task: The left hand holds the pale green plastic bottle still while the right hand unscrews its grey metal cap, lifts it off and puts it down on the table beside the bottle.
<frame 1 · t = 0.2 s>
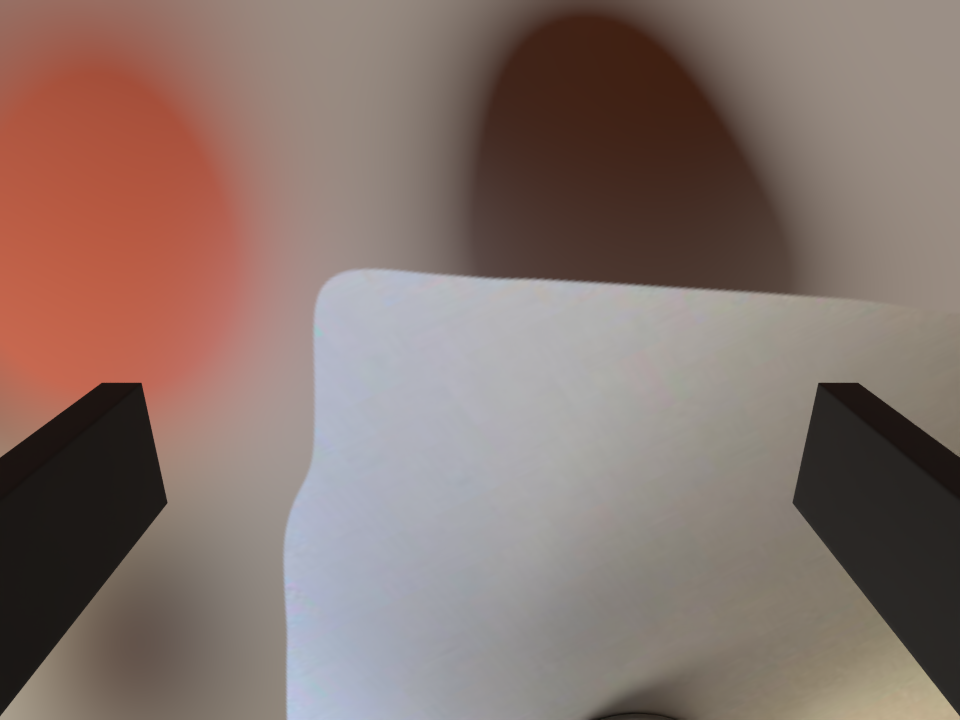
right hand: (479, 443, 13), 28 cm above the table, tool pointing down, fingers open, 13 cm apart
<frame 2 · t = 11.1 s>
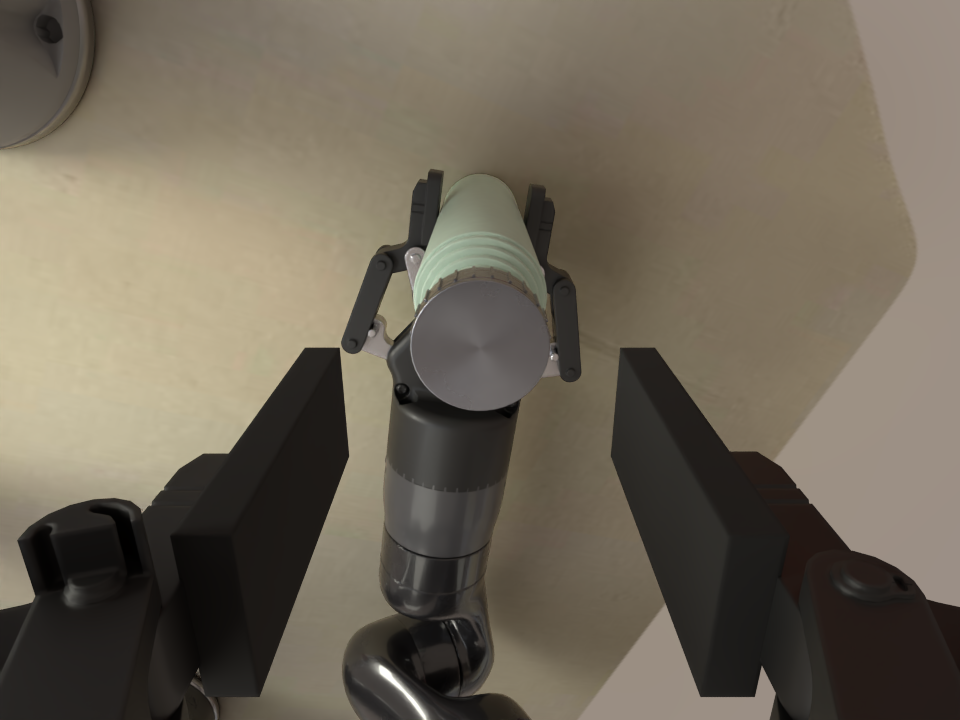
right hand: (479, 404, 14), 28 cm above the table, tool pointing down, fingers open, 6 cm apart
left hand: (486, 180, 33), fingers closed on bottle, 4 cm apart
bottle: (479, 212, 40), on the table, touching left hand
cap: (480, 344, 18), point 24 cm above the table, screwed on, not yet turned
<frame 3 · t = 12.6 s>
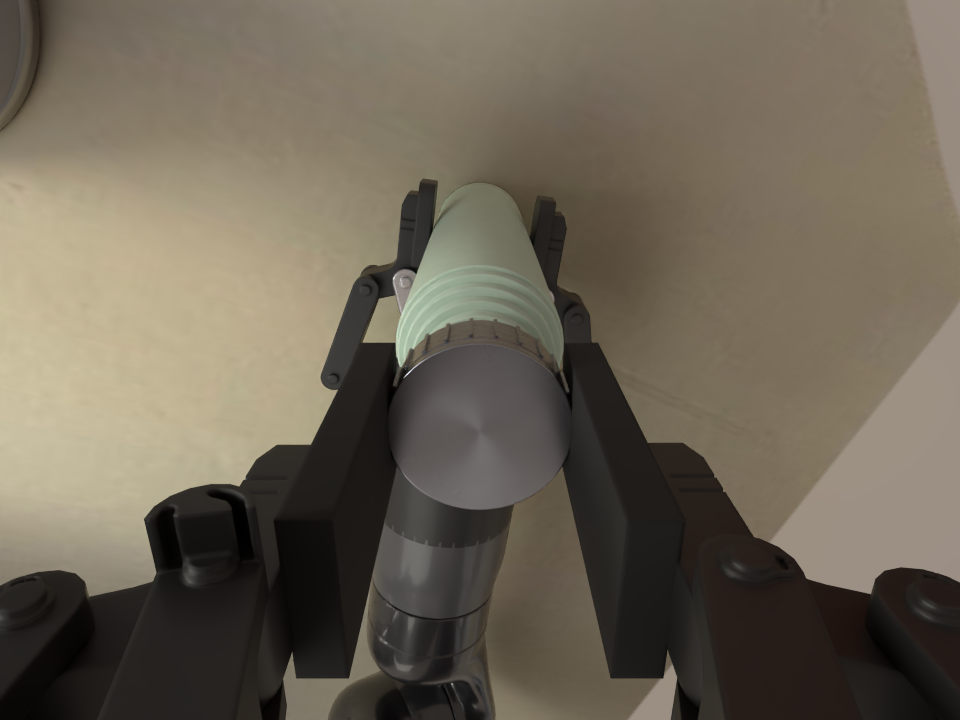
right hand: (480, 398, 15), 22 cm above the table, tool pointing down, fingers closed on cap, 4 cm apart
left hand: (487, 191, 29), fingers closed on bottle, 4 cm apart
bottle: (479, 225, 35), on the table, touching left hand
cap: (479, 424, 13), point 24 cm above the table, screwed on, not yet turned, touching right hand
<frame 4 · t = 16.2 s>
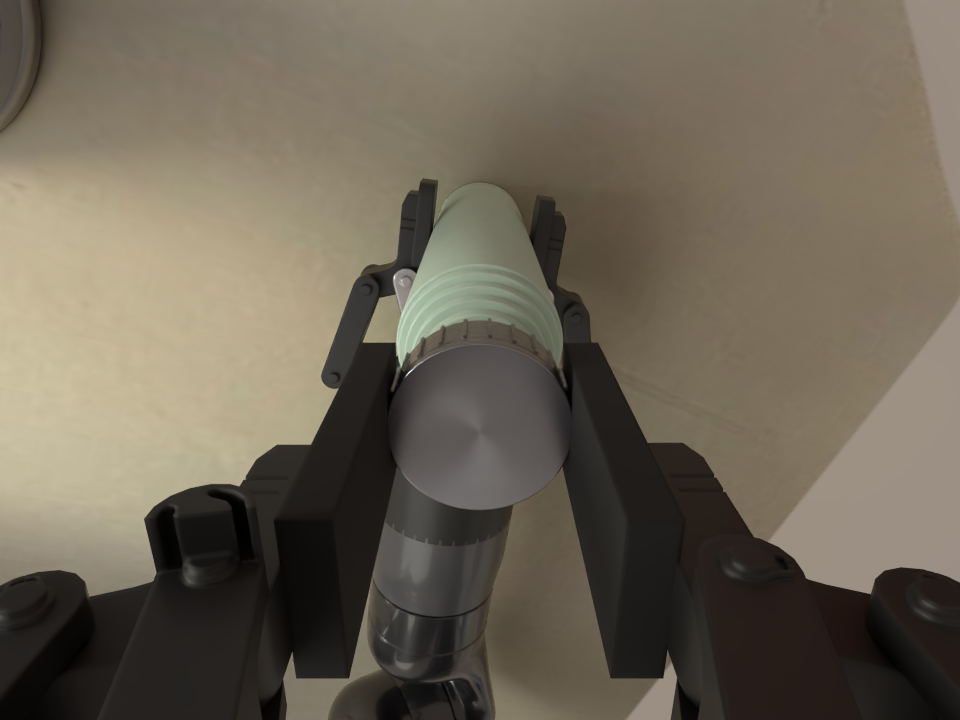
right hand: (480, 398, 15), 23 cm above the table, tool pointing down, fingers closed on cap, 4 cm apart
left hand: (487, 191, 29), fingers closed on bottle, 4 cm apart
bottle: (479, 225, 36), on the table, touching left hand
cap: (479, 425, 13), point 24 cm above the table, turned 124° so far, risen 0.1 cm, still on its thread, touching right hand
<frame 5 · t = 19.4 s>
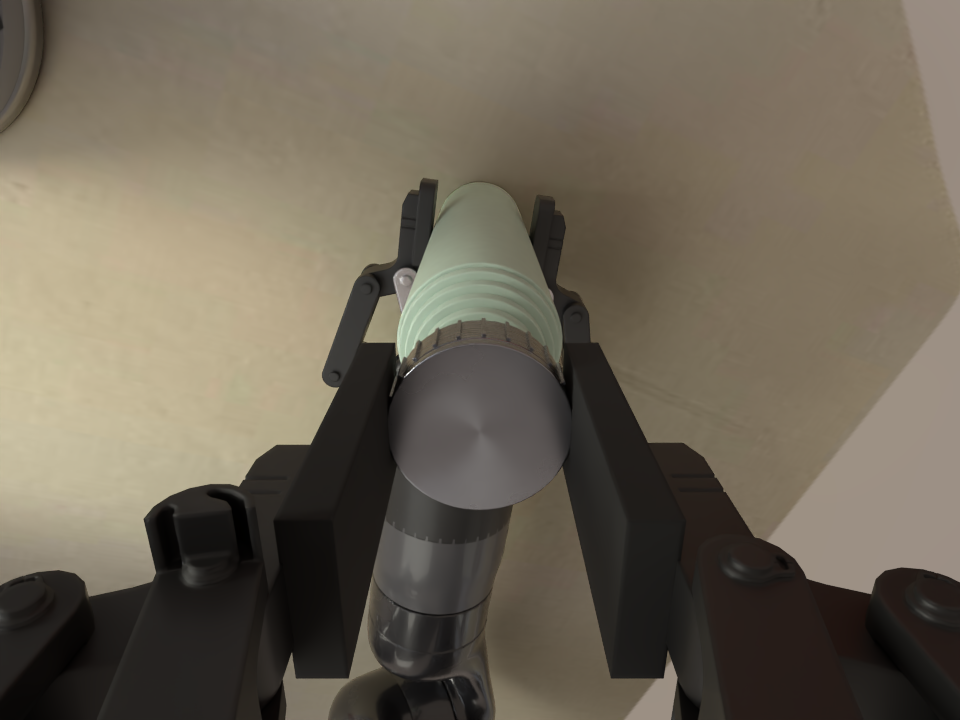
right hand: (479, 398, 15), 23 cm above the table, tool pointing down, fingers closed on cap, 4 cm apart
left hand: (487, 191, 29), fingers closed on bottle, 4 cm apart
bottle: (479, 224, 36), on the table, touching left hand
cap: (479, 424, 13), point 24 cm above the table, turned 247° so far, risen 0.3 cm, still on its thread, touching right hand
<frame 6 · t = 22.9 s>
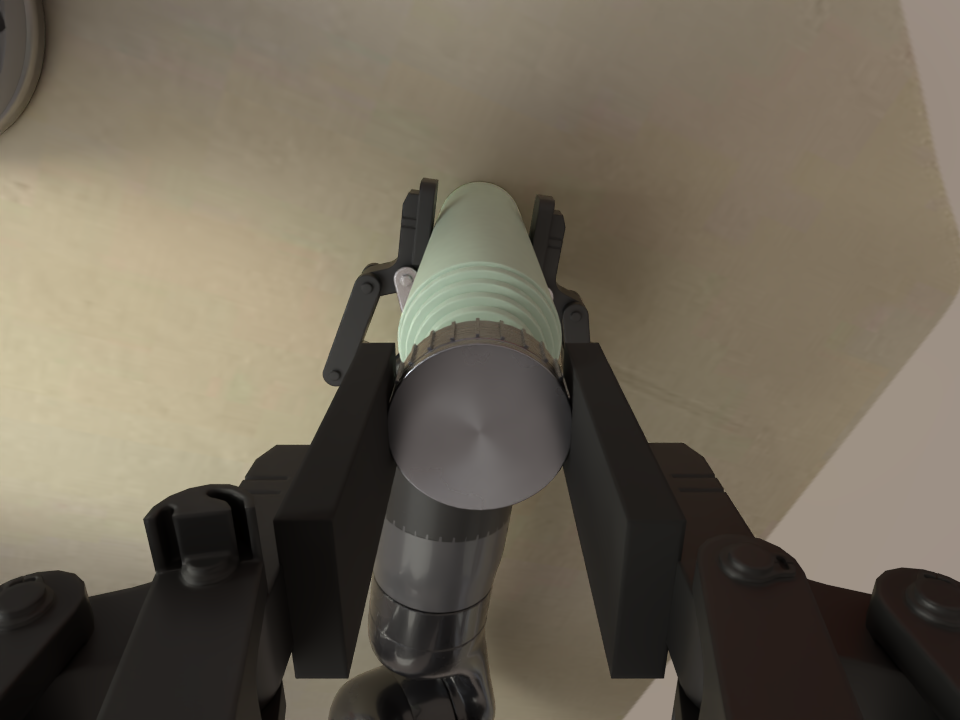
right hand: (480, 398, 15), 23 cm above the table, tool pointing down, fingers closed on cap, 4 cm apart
left hand: (487, 190, 29), fingers closed on bottle, 4 cm apart
bottle: (479, 224, 36), on the table, touching left hand
cap: (479, 425, 13), point 24 cm above the table, turned 371° so far, risen 0.4 cm, still on its thread, touching right hand
when the right hand's fingers open (2 cm above the table, at t = 30.8 s): cap drops 2 cm, point 1 cm above the table.
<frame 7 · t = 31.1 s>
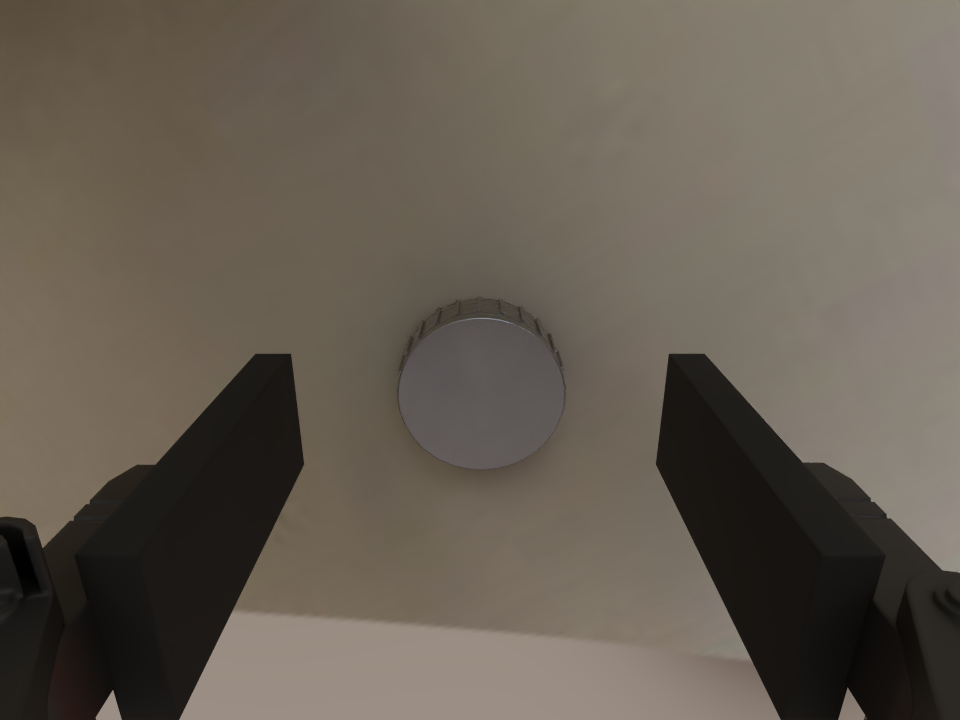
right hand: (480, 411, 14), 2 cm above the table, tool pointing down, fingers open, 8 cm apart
cap: (481, 392, 15), point 1 cm above the table, off its thread
when the left hand's fingers open (6 cm above the table, at t = 32.1 s): bottle stays where it is, on the table.
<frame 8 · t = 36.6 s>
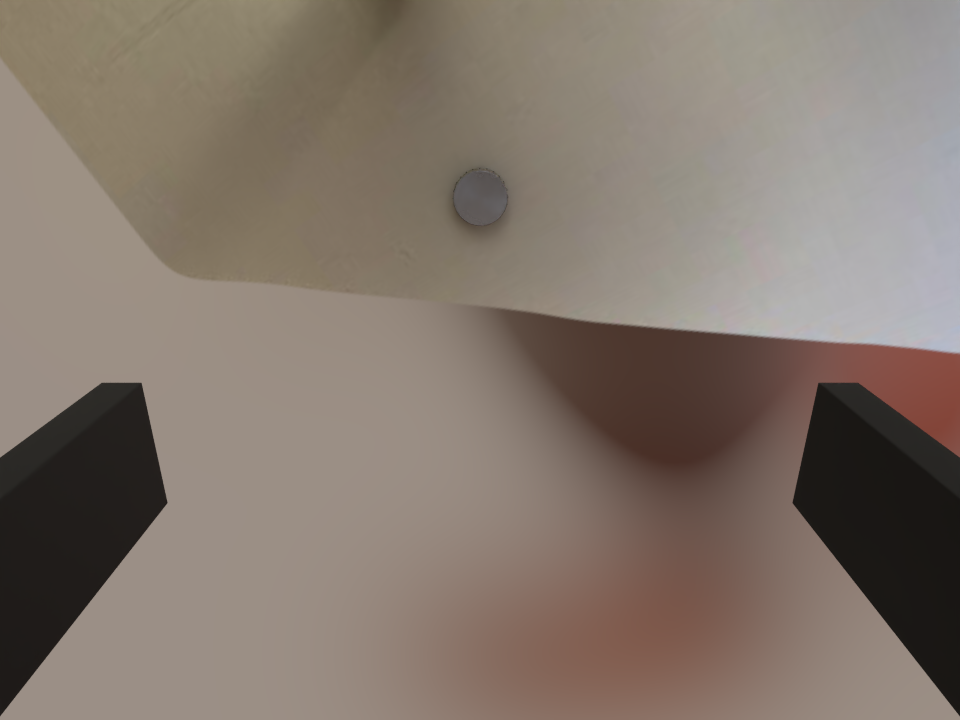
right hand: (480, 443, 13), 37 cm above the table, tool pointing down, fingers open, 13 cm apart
cap: (480, 198, 46), point 1 cm above the table, off its thread
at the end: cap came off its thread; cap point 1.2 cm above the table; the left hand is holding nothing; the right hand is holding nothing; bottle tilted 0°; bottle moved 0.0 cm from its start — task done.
